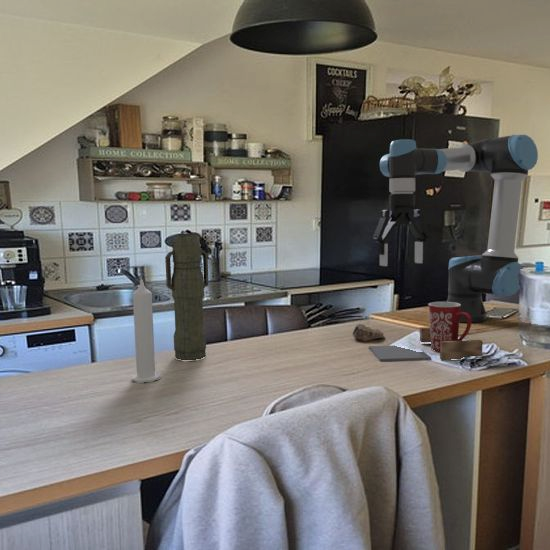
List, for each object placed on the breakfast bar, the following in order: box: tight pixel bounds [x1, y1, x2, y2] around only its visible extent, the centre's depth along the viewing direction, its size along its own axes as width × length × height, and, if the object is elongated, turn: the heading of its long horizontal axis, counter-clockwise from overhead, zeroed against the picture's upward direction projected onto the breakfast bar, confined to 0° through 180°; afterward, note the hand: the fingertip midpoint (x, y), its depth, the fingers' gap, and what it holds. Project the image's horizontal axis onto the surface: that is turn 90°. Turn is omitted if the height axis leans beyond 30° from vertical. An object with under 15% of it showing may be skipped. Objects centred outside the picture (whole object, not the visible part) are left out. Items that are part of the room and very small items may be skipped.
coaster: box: [368, 345, 432, 362], centre depth 157 cm, size 14×14×1 cm
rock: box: [352, 323, 385, 342], centre depth 176 cm, size 9×6×10 cm
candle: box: [131, 279, 162, 384], centre depth 136 cm, size 7×7×25 cm
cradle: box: [419, 326, 484, 362], centre depth 158 cm, size 11×19×5 cm, turn 3°
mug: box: [427, 301, 472, 353], centre depth 158 cm, size 13×9×14 cm
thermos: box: [165, 233, 209, 360], centre depth 155 cm, size 9×12×35 cm
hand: (401, 264), depth 167 cm, fingers open, 13 cm apart
